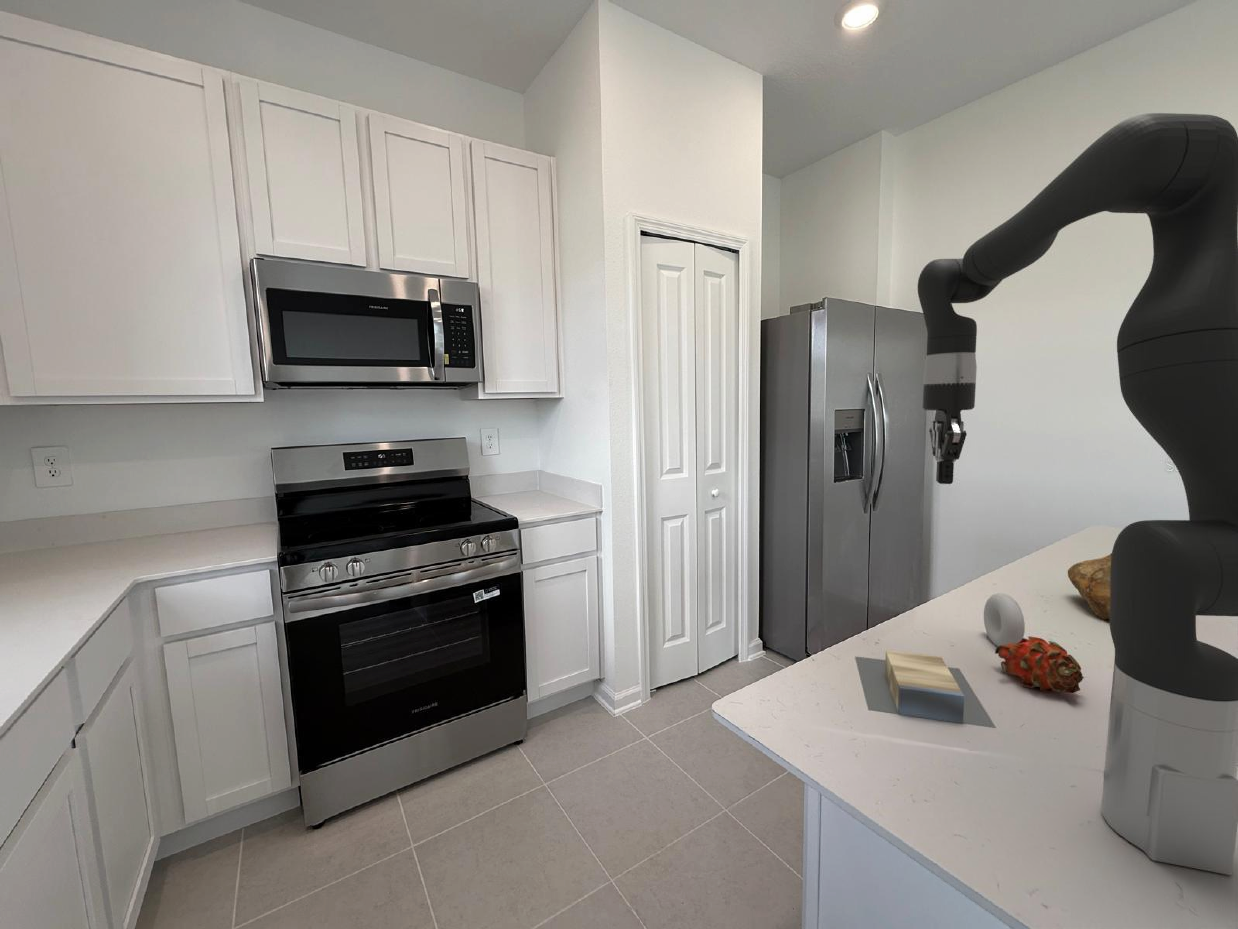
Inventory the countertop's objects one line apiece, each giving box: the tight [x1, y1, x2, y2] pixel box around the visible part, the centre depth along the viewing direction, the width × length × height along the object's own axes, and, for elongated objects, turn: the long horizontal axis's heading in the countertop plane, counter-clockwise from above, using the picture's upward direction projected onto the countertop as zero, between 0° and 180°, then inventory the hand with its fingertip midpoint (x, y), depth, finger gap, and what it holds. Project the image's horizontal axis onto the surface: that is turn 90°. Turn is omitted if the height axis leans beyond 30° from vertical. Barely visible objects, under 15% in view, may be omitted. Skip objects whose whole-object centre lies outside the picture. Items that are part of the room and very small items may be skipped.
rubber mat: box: [854, 656, 997, 729], centre depth 83 cm, size 17×16×1 cm
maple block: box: [884, 650, 964, 724], centre depth 81 cm, size 4×8×12 cm
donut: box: [983, 592, 1026, 648], centre depth 97 cm, size 10×4×10 cm, turn 168°
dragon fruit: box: [992, 636, 1085, 694], centre depth 84 cm, size 8×8×12 cm
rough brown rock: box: [1067, 552, 1112, 621], centre depth 112 cm, size 23×17×15 cm
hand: (944, 483), depth 92 cm, fingers closed
